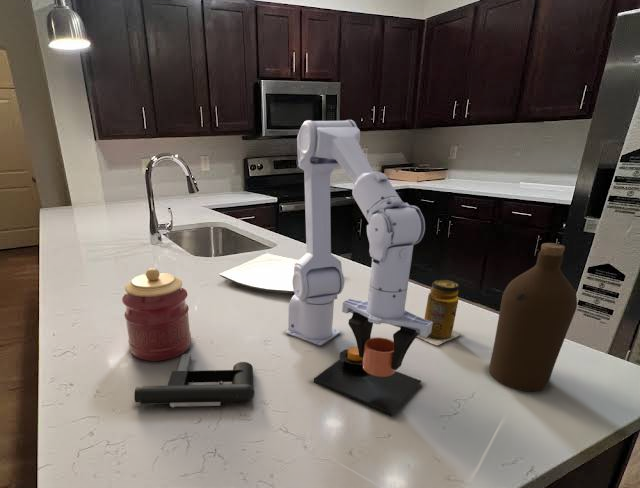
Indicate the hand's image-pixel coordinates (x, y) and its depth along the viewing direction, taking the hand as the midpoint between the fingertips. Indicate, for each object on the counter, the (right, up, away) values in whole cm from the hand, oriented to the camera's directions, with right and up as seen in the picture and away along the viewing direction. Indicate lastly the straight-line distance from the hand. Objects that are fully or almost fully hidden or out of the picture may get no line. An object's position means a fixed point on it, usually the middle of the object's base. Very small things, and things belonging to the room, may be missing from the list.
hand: (379, 360), depth 71 cm
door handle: (-31, -5, +6) cm, 32 cm away
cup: (0, -1, 0) cm, 1 cm away
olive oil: (+27, -4, +7) cm, 29 cm away
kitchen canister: (-41, 0, +19) cm, 45 cm away
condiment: (+19, +3, +22) cm, 29 cm away
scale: (-1, -5, +5) cm, 7 cm away
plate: (-14, +17, +58) cm, 62 cm away
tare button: (-2, -1, +9) cm, 10 cm away
